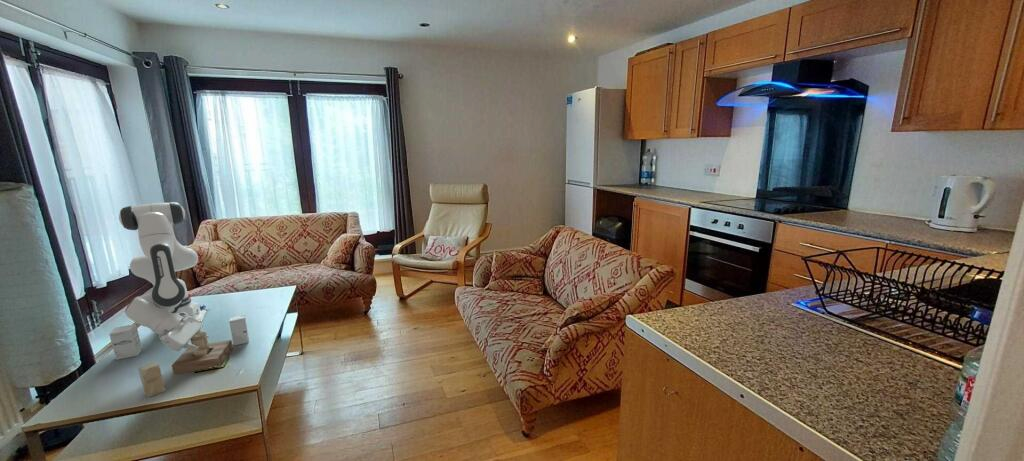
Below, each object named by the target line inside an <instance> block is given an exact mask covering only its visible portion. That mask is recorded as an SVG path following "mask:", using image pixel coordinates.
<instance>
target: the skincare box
mask: <svg viewBox="0 0 1024 461" xmlns="http://www.w3.org/2000/svg"><path fill="white" fill-rule="evenodd" d="M246 320H247V319H246V315H245V314H244V315H238V316H233V317H230V318H229V321H228V323H229V327H230V332H231V340H232V345H233V346H238V345H243V344H247V343H249V340H250V338H249V331H248V325H247V321H246Z"/></svg>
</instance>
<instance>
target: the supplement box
mask: <svg viewBox="0 0 1024 461" xmlns="http://www.w3.org/2000/svg"><path fill="white" fill-rule="evenodd" d="M108 336H109V338H110V342H111V345H112V350H113V354H114V356H115V357H114V358H115V360H116V361H119V360H123V359H127V358H133V357H137V356H139V354H140V353H141V351H142V350H143V347H142V342H141V338H140V334H139V329H138V326H137V323H132V324H128V325H122V326H118V327H114V328H113V329H112V330H111V331H110V332H109V335H108Z"/></svg>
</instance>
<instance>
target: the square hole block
mask: <svg viewBox="0 0 1024 461" xmlns="http://www.w3.org/2000/svg"><path fill="white" fill-rule="evenodd" d="M208 345H209V350H210V353H209V354H207V355H200V356H194V352H193V350H192V349H186V348H185V349H186V350H184V351H183V353H181V355H180V356H179V357H178V358H177V359H176V360H175V361H174V362H173V363H172V364H171V368H172V373H173V375H179V374H183V373H189V372H190V373H191V372H197V371H201V370H200V369H203V370H205V369H204V368H209V367H215V366H220V365H222V364H223V363H222V362H224V361H225V360H226V359H227V357H228V356H229V354H230V353H231V352H232V350H233V349H234V347H233V346H234V345H233V339H229V340H223V341H222V340H221V341H216V342H210V343H209V342H208ZM225 358H226V359H225ZM224 359H225V360H224ZM223 360H224V361H223ZM221 363H222V364H221ZM220 367H221V366H220ZM215 368H216V367H215ZM209 369H210V368H209ZM196 370H197V371H196Z"/></svg>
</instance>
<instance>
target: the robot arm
mask: <svg viewBox="0 0 1024 461" xmlns="http://www.w3.org/2000/svg"><path fill="white" fill-rule="evenodd" d="M185 218H186V210H185V209H184V207H183V206H182V205H181V204H180V203H179V202H176V201H175V202H174V201H169V202H151V203H144V204H137V205H133V206H132V205H129V206H125V207H122V208H121V209H120V211H119V214H118V221H119V223H120V224H121V226H122V227H123V228H124V229H126V230H129V231H137V233H138V240H139V244H140V245H139V246H140V248H141V250H142V252H143V254H141V255H137V256H136V257H133V258H132V259H131V261H130V264H129V269H130V272H131V273H132V274H133V275H135V276H136V277H137V278H138V277H139V278H141V279H145V280H146V281H148V282H149V283H151V284H152V285H153V287H152V288H153V289H152V291H151V292H149V293H146V294H143V295H140V296H139V295H138V296H135V297H134V298H133V299H132V300H131V301H130V302H129V303H128V305H127V306H126V308H125V312H124V314H125V316H126V317H127V318H128V319H130V320H131V321H133V322H135V324H138V325H140V326H142V327H146V328H148V329H149V330H150V331H152V332H154V333H155V334H158V338H159V340H160V341H161V342H162V344H164V346H166V347H167V348H169V349H171V350H172V351H175V352H180V351H181V349H183V348H184V349H192V350H194V351H196V350H197V349H198V348H199V347H200V346H198V345H197V344H196V345H193V344H192V343H191V340H190V339H191V338H192V337H193V336H194V335H195V334H196V333H200V332H205V331H204V330H203V329H202V328H203V326H204V324H203V320H204V318H205V317H206V314H207V310H205V309H201V307H200V304H199V303H197V302H195V301H192V299H191V298H192V296H193V294H192V293H191V292H190V293H188V291H187V290H188V289H187V285H186V283H185V281H184V280H183V279H180V278H177V275H176V272H180V271H184V270H188V269H191V268H193V267H195V266H197V265H198V262H199V255H198V254H197V251H195V249H194V248H191V247H188V246H184V245H183V244H181V243H180V242H179V241H178V240H177V238H176V235H175V232H174V228H173V227H174V226H177V225H180V224H182V223H184V221H185ZM173 225H174V226H173ZM201 310H202V311H201ZM206 337H207V339H208V338H209V334H206Z"/></svg>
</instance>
